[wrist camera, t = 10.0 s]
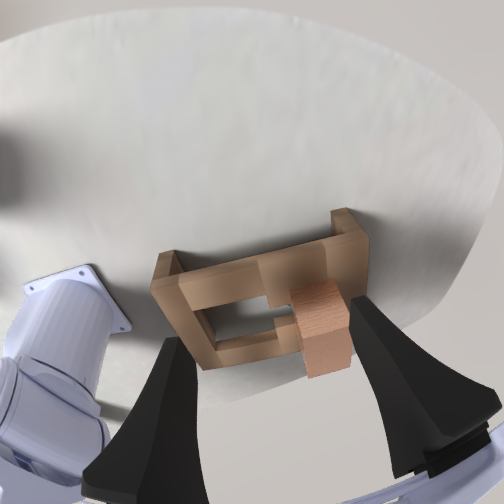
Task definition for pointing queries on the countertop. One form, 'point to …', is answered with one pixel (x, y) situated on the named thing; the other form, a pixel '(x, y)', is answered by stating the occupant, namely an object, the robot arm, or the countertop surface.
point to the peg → (322, 327)
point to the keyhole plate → (259, 291)
